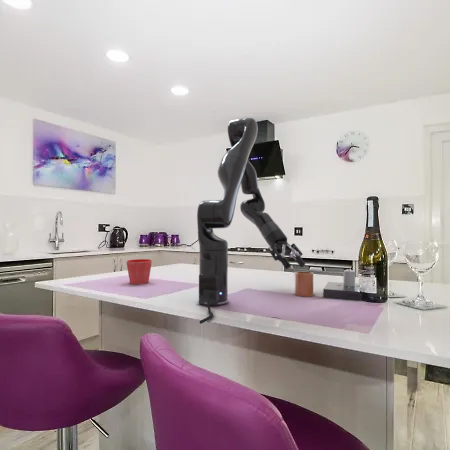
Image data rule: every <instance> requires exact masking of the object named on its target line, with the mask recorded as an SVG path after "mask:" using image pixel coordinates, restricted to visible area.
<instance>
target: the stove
mask: <svg viewBox="0 0 450 450" xmlns="http://www.w3.org/2000/svg"><path fill="white" fill-rule="evenodd" d="M359 284H360V283H355V286H354V287H348V286H344V282H340V281H339V282H338V281H327V283H326V285H325V286H324V288H323V295H322V296H323V298H324V299H334V300H335V299H337V300H348V301H359V302H362V301H361V300H362V295H361V296H360V291H359Z"/></svg>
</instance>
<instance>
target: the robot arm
mask: <svg viewBox="0 0 450 450" xmlns="http://www.w3.org/2000/svg"><path fill="white" fill-rule="evenodd" d="M258 127H259V126H258V122H257V120H256V119H254V118H253V117H244V118H237V119H232V120H230V121H229V122H228V124H227V136H228V141H229V144H230V147H231V148H230V149H228V150H227V151H226V152H225V153H224V154H223V156H222V157H221V159H220V162H219V166H218V168H217V178H218V181H219V183H220V184H221V187H222V188H223V196H222V198H220V199H205V200H202V201H200V203H199V204H198V206H197V211H196V222H197V224H196V225H197V241H198V243H199V244H198V245H199V248H198V249H199V255H198V256H199V261H198V262H199V263H198V264H199V266H198V270H199V271H198V273H199V275H198V304H199V305H204V306H206V307H207V310H208V314H209V315H208V316H207V317H205V318H203V319H201V320H200V321H199V324H203V323H205V322H207V321H209V320H211V319H212V318H213V317H214V313H213V312H212V309H211V306H214V307H217V306H221V305H227V304H228V303H229V299H228V296H229V295H228V294H229V291H228V289H229V288H228V287H229V286H228V285H229V283H228V282H229V281H228V279H229V274H228V273H229V243H228V241H227V240H226V239H224V238H221V237H219V236H218V235H217V234H216V233H215V232H214V229H219V230H221V229H227V228H229V227H230V226H231V224H232V222H233V218H234V215H235V209H236V203H237V199H238V195H239V194H238V193H239V190H240V189H241V192H242V194H243V195H248V196H249V195H251V196H252V198H249V199H246V200H243V201H242V202H241V203H240V206H239V207H240V208H239V209H240V212H241V214H242V215H243V216H244V218H246V219H247V220H248V221H249V222H251V223H252V225H254V226H255V227H256V228H257V229H258V231H259V232H260V234H261V236H262V238H263V239H264V241H265V242H266V244H267V245H268V246H269V247H268V248H267V250H268V252H269V254H270V256H272V259H273V260H274V261H278V262H280V263H281V264H282V266H283V267H284V269H286V270H289V269H290V268H291V266H292V265H291V263H290V262H289V260H288V259H287V257H289V258H290V259H291V258H293V259H294V260H295V261H296V263H297V264H298V266H299V267H300V268H304V266H305V265H306V262H305V260H303V258H302V256H303V252H302V251H301V250H300V248H299V247H298V246H297V245H296V244H295V243H291V244H290V243H288V237H287V236H286V234H285V233H284V232H283V230H282V229H281V228H280V226H279V225H278V224H277V223H276V221H274V219H273V218H272V217H271V216H270V214H269V213H268V212H264V211H265V210H266V202H265V199H264V198H263V196H262V195H263V194H262V193H261V190H260V187H259V182H258V181H259V180H258V175H257V171H256V168H255V167H254V166H253V164H252V163H251V162H250V161H249V158H250V157H249V156H250V154H251V151H252V149H253V147H254V144H255V142H256V140H257V137H258V132H259V131H258V130H259V129H258ZM240 187H241V188H240Z"/></svg>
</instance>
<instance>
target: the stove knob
mask: <svg viewBox="0 0 450 450" xmlns="http://www.w3.org/2000/svg"><path fill="white" fill-rule="evenodd" d="M343 283H344V286H348V287H354V286H355V284H356V270H353V269H351V268H349V269H345V270H343Z"/></svg>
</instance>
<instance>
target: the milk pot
mask: <svg viewBox="0 0 450 450" xmlns="http://www.w3.org/2000/svg"><path fill="white" fill-rule="evenodd" d="M294 295H295V296H298V297H303V298H304V297H306V298H307V297H313V296H314V272H312V271H305V270H304V271H302V270H300V271H295V272H294Z"/></svg>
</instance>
